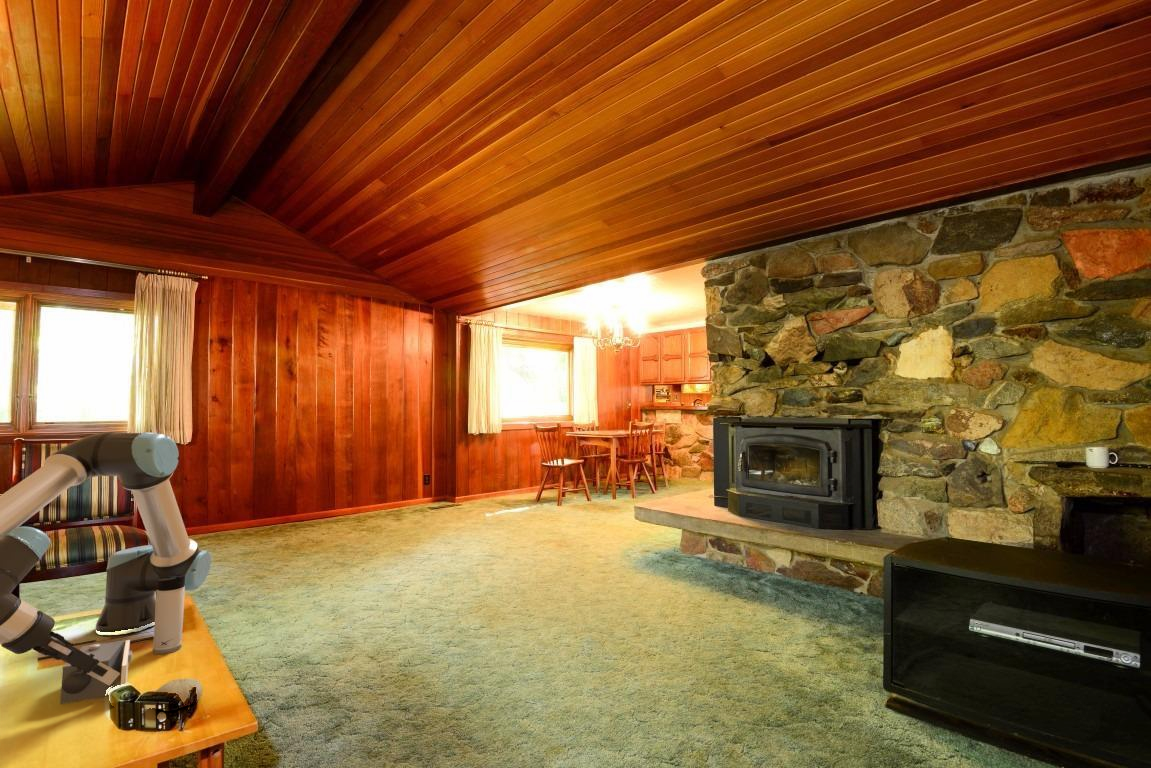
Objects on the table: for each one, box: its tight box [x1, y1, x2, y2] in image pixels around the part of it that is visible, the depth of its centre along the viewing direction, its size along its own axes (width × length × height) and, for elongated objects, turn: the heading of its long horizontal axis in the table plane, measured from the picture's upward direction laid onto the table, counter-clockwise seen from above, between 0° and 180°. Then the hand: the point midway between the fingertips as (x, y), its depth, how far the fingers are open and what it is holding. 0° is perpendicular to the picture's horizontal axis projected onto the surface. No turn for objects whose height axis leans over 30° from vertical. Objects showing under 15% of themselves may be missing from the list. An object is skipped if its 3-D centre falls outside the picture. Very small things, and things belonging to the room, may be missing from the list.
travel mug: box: [152, 574, 186, 655], centre depth 149 cm, size 6×7×20 cm
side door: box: [120, 639, 133, 685], centre depth 128 cm, size 17×1×8 cm, turn 37°
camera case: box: [59, 640, 125, 705], centre depth 127 cm, size 14×8×9 cm, turn 27°
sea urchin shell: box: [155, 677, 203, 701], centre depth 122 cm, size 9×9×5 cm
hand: (113, 678), depth 123 cm, fingers closed
